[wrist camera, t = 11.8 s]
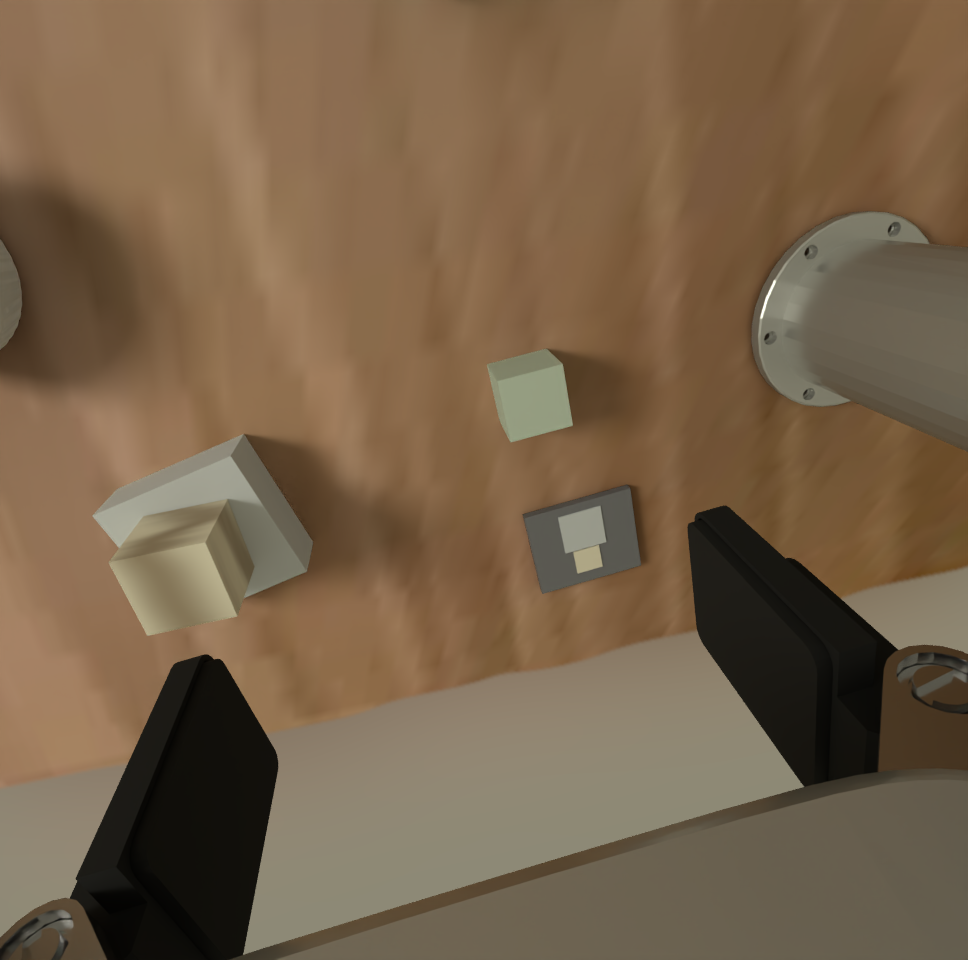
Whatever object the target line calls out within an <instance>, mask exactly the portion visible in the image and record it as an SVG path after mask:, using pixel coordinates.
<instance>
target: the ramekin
mask: <svg viewBox="0 0 968 960" xmlns="http://www.w3.org/2000/svg"><path fill="white" fill-rule="evenodd" d="M21 308H22V290H21V285H20V279H19V276H18V272H17V269H16V267H15V265H14V263H13V260H12V257H11V255H10V254H9V252H8V251H7V249H6V247H5V245H4V244H3V242H2V241H1V240H0V350H1V349H2V348H3V347H4V346H5V345H6V344H7V343H8V341H9V339H10V338H11V337H12V336H13V335H14V332H15V330H16V328H17V327H18V323H19V319H20V317H21Z"/></svg>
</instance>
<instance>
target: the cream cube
mask: <svg viewBox="0 0 968 960" xmlns="http://www.w3.org/2000/svg"><path fill="white" fill-rule="evenodd" d="M109 564H110V566H111V568H112V570H113V572H114V574H115V576H116V577H117V579H118V581H119V583H120V585H121V587H122V589H123V591H124V592H125V594H126V596H127V598H128V600H129V602H130V604H131V606H132V608H133V609H134V611H135V613H136V615H137V617H138V619H139V621H140V623H141V624H142V626H143V628H144V630H145V632H146V634H147V636H149V635H153V634H158V633H163V632H167V631H172V630H176V629H181V628H186V627H190V626H195V625H199V624H204V623H209V622H213V621H218V620H222V619H227V618H232V617H236V616H238V613H239V610H240V607H241V605H242V602H243V599H244V596H245V593H246V590H247V587H248V585H249V582H250V579H251V576H252V573H253V570H254V567H255V566H254V564H253V561H252V559H251V556H250V554H249V551H248V549H247V546H246V544H245V541H244V539H243V536H242V534H241V531H240V529H239V526H238V524H237V521H236V519H235V516H234V514H233V511H232V509H231V506H230V504H229V501H228V499H225V500H220V501H215V502H211V503H206V504H201V505H196V506H191V507H186V508H181V509H176V510H171V511H166V512H162V513H157V514H152V515H147V516H143V517H142V519H141V520H140V521H139V523H138V524H137V525H136V527H135V528H134V529H133V531H132V532H131V533H130V535H129V536H128V537H127V539H126V540H125V541H124V543H123V544H122V545H121V547H120V548H119V549H118V551H117V552H116V553H115V555H114V556H113V557H112V559H111V560H110V561H109Z"/></svg>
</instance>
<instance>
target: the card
mask: <svg viewBox="0 0 968 960" xmlns="http://www.w3.org/2000/svg"><path fill="white" fill-rule="evenodd" d="M523 518H524V522H525V526H526V531H527V535H528V539H529V543H530V547H531V551H532V556H533V560H534V564H535V568H536V572H537V576H538V581H539V585H540V589H541V592H542V594H544V593H547V592H550V591H554V590H557V589H561V588H564V587H568V586H571V585H575V584H578V583H582V582H585V581H589V580H592V579H595V578H599V577H602V576H606V575H609V574H613V573H616V572H620V571H623V570H627V569H630V568H634V567H637V566H640V565H641V562H640V555H639V548H638V541H637V534H636V526H635V519H634V512H633V505H632V498H631V491H630V488H629V486H628V485H624V486H621V487H617V488H614V489H610V490H607V491H603V492H600V493H596V494H593V495H589V496H586V497H582V498H579V499H575V500H572V501H568V502H565V503H561V504H558V505H554V506H551V507H547V508H544V509H540V510H537V511H533V512H530V513H526V514H523Z"/></svg>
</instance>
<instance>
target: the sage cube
mask: <svg viewBox="0 0 968 960" xmlns="http://www.w3.org/2000/svg"><path fill="white" fill-rule="evenodd" d="M487 367H488V371H489V376H490V380H491V385H492V389H493V393H494V398H495V402H496V407H497V411H498V416H499V420H500V422H501V424H502V426H503V428H504V430H505V432H506V434H507V436H508V438H509V440H510V442H514V441H517V440H521V439H525V438H529V437H532V436H536V435H540V434H544V433H547V432H551V431H555V430H559V429H562V428H566V427H570V426H573V423H572V417H571V411H570V405H569V399H568V393H567V387H566V381H565V375H564V369H563V364H562V363H561V362H560V361H559V360H558V359H557V358H556V357H555V356H554V355H553V354H552V353H551V352H550V351H549V350H547V349H543V350H539V351H536V352H532V353H528V354H524V355H520V356H517V357H513V358H509V359H505V360H501V361H498V362H494V363H490V364H487Z"/></svg>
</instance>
